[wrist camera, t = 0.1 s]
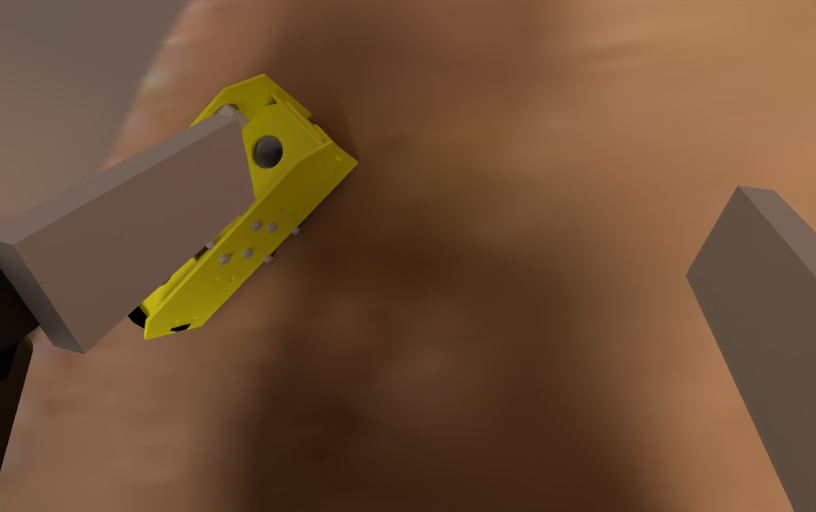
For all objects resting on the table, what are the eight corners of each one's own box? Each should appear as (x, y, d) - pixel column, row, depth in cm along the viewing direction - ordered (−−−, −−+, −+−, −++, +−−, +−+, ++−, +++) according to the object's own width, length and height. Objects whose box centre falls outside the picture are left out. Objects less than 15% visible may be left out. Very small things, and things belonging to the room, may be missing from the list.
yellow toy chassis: (310, 111, 29) (241, 53, 20) (365, 168, 28) (317, 132, 20) (163, 270, 31) (47, 275, 22) (211, 327, 30) (110, 354, 22)
